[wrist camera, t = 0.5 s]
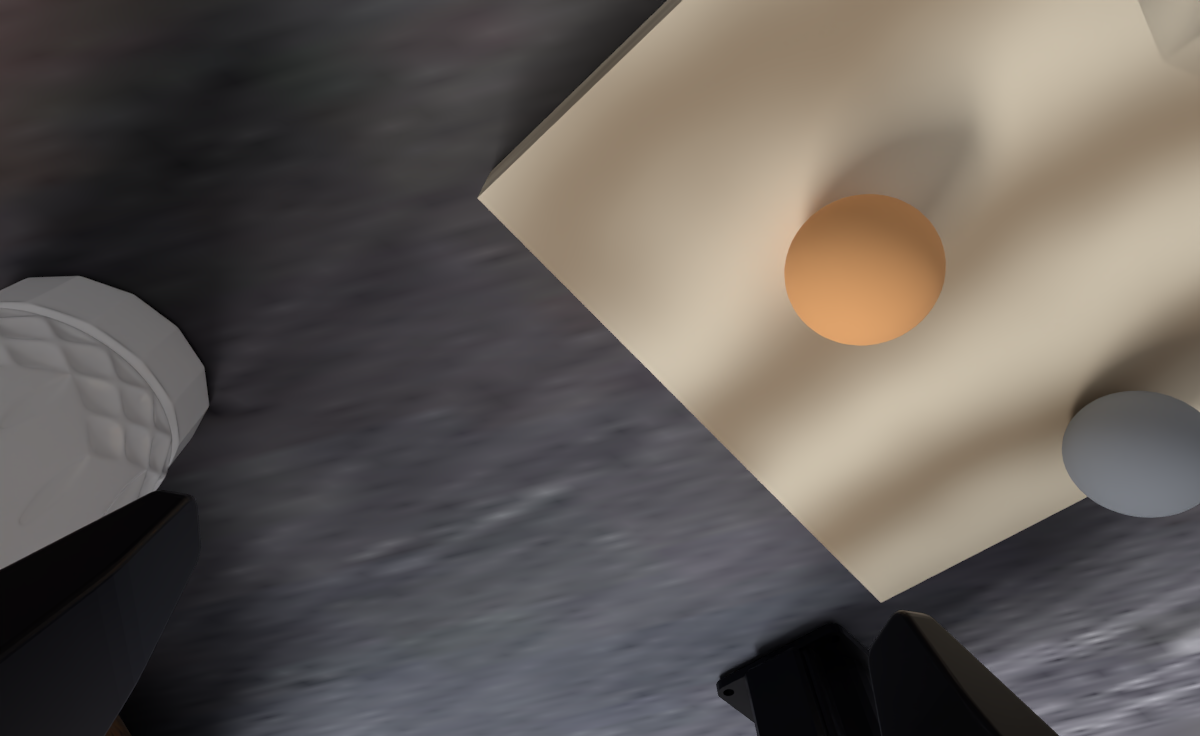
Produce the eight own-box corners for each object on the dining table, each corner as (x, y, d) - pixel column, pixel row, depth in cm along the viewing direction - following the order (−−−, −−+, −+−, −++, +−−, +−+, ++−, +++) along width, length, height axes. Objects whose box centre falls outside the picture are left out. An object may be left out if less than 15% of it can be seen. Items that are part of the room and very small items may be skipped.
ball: (931, 249, 17) (1004, 308, 14) (815, 330, 18) (860, 400, 15) (862, 145, 16) (927, 186, 13) (742, 239, 17) (776, 297, 14)
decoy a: (1175, 420, 20) (1279, 499, 17) (1062, 480, 21) (1141, 564, 18) (1135, 345, 19) (1241, 416, 16) (1017, 413, 20) (1093, 492, 17)
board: (1617, 132, 18) (1755, 153, 16) (857, 551, 26) (881, 603, 24) (1544, -854, 10) (1793, -1069, 8) (490, 172, 18) (477, 198, 16)
